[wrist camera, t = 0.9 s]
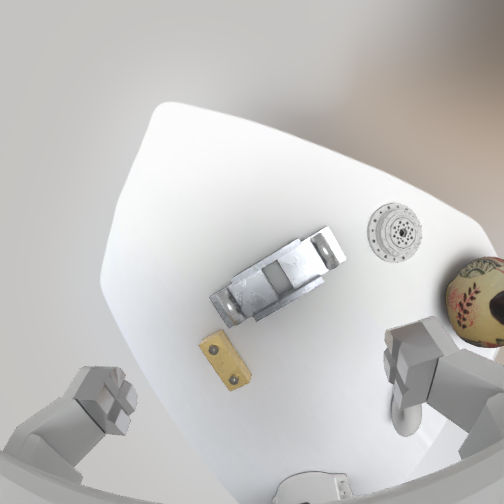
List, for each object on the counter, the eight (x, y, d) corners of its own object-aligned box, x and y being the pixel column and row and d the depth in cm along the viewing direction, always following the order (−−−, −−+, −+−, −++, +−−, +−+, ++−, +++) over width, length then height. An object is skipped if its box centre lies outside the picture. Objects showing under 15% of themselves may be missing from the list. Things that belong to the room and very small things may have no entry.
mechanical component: (381, 193, 47) (357, 245, 48) (389, 189, 42) (364, 246, 43) (425, 221, 46) (403, 271, 47) (437, 220, 42) (414, 274, 43)
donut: (401, 417, 48) (417, 444, 38) (386, 420, 49) (401, 448, 39) (409, 376, 48) (429, 400, 38) (393, 379, 48) (411, 404, 38)
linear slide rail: (346, 261, 48) (352, 264, 43) (233, 327, 50) (229, 336, 46) (322, 222, 48) (327, 221, 43) (210, 290, 50) (203, 295, 46)
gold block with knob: (222, 328, 51) (217, 336, 47) (251, 373, 51) (249, 384, 47) (203, 338, 51) (197, 346, 47) (233, 382, 51) (229, 393, 47)
